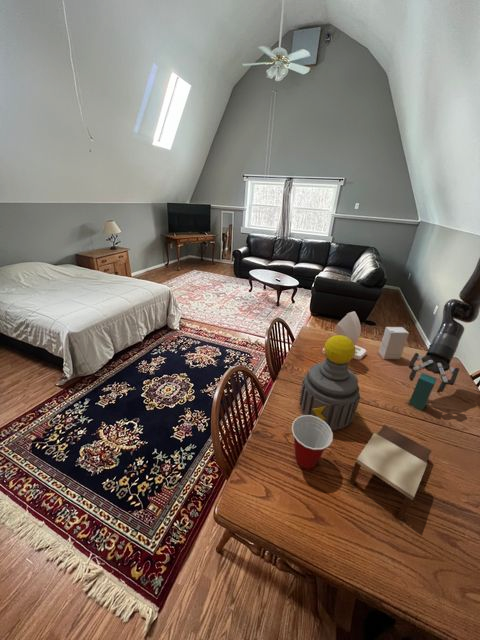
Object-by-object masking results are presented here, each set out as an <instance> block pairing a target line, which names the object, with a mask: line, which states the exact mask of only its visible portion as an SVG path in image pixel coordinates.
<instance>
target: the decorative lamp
mask: <svg viewBox="0 0 480 640" xmlns="http://www.w3.org/2000/svg"><path fill="white" fill-rule="evenodd" d="M323 349H324V351H325V354H324V355H325V359H324V360H323V362H317V363H315V364H313V365H312V366H311V367H310V368H309V370H308V371H307V372H306V374H305V376H304V377H303V379H301V382H302V384H301V388H300V390H299V393H300V394H299V406H300V412H301V413H302V415H312V416H315V417H318V418H320V419H322V420H323V421H325V422H326V423H327V424H328V426H329V427H330V428H331V431H336V430H342V429H344V428H346V427H348V426H349V424H352V422H353V421H354V419H355V416H356V413H357V410H358V407H359V404H360V400H361V394H360V387H359V379H358V377H357V375H356V374H355V373H354V372H353V371H352V370H350V369H349V362H351V360H353V359H354V358H353V357H354V354H355V346H354V344H353V342H352V341H351V339H349V338H348V337H346V336H343V335H337V334H336V335H335V334H334V335H332V336H331V337H329V338H328V339H327V340H326V341H325V342H324V347H323Z"/></svg>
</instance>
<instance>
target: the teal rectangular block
mask: <svg viewBox="0 0 480 640" xmlns="http://www.w3.org/2000/svg"><path fill="white" fill-rule="evenodd" d="M436 382H437V378H436V377H433V376H431V375H429V374H426V373H423V372H422V373H420V375H419V377H418V379H417V381H416V384H415V387H414V389H413V391H412V394H411V396H410V400H409V402H408V405H409V406H412V407H414V408H416V409H417V410H419V411H424V409H425V407H426V405H427V403H428V400H429V398H430V397H431V396H430V395H431V393H432V391H433V389H434V386H435V384H436Z"/></svg>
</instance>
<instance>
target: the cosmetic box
mask: <svg viewBox="0 0 480 640" xmlns="http://www.w3.org/2000/svg"><path fill="white" fill-rule="evenodd" d="M383 332H384V333H383V335H382V339H381V342H380V345H379V348H378V349H379V350H378V354H379V355H380V357H381V358H382V359H383V360H401V359H402V355H403V352H404V350H405V347H406V343H407V340H408V338H409V335H410V332H409V331H407V330H406V328H405V327H403V326H385V329H384V331H383Z"/></svg>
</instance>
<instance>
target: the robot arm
mask: <svg viewBox="0 0 480 640" xmlns="http://www.w3.org/2000/svg"><path fill="white" fill-rule="evenodd" d="M458 297H459V299H457V298H451V299H449V300H448V301H446V302H445V304H444V305H443V310H442V321H441V325H440V326H439V328H438V331H437V333H436V334H435V336H434V337H433V339H432V341H431V343H430V345H429V347H428V349H427V352H426V353H425V355H424V356H423V355H420V354H419V353H418V352H415V353H414V354H413V356H412V357H411V359H410V361H409V363H408V369H410V370H411V372H410V373H409V376H408V377H409V378H408V379H409V380H410V382H413V381H414V379H415V377H416V375H417V372H420V371H423V370H426V371H427V372H431V373H433V374H435V375H438V376H439V378H440V379H441V383H440V385H439V387H438V388H437V391H436V392H437V393H438V394H440V393H442V392H444V390H445V388H446V386H447V385H450V386H454V384H455V382H456V380H457V377H458V374H459V371H460V368H458V367H453V366H450V365H451V362H452V360H453V358H454V355H455V354H456V352H457V349H458V347H459V344H460V341H461V339H462V337H463V334H464V333H465V332H464V331H465V327H464V325H463V324H461V323H460V322H462V323H466V324H467V323H468V324H470V323H473V322H475V321H476V320H477V319H478V316H479V314H480V257H479V259H478V261H477V263H476V266H475V268H474V270H473V272H472V274H471V276H470V277H469V279H468V281H466V283H465V285H464V286H463V287H462V289H461V290H460V292H459V295H458ZM458 321H460V322H458ZM420 360H421V361H422V363H420V364H418V365H416V366H415V363H416V362H417V361H418V362H419V361H420ZM448 371H449V372H450V374H452V375H451V377H450V379H448V377H447V375H446V372H448Z"/></svg>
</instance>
